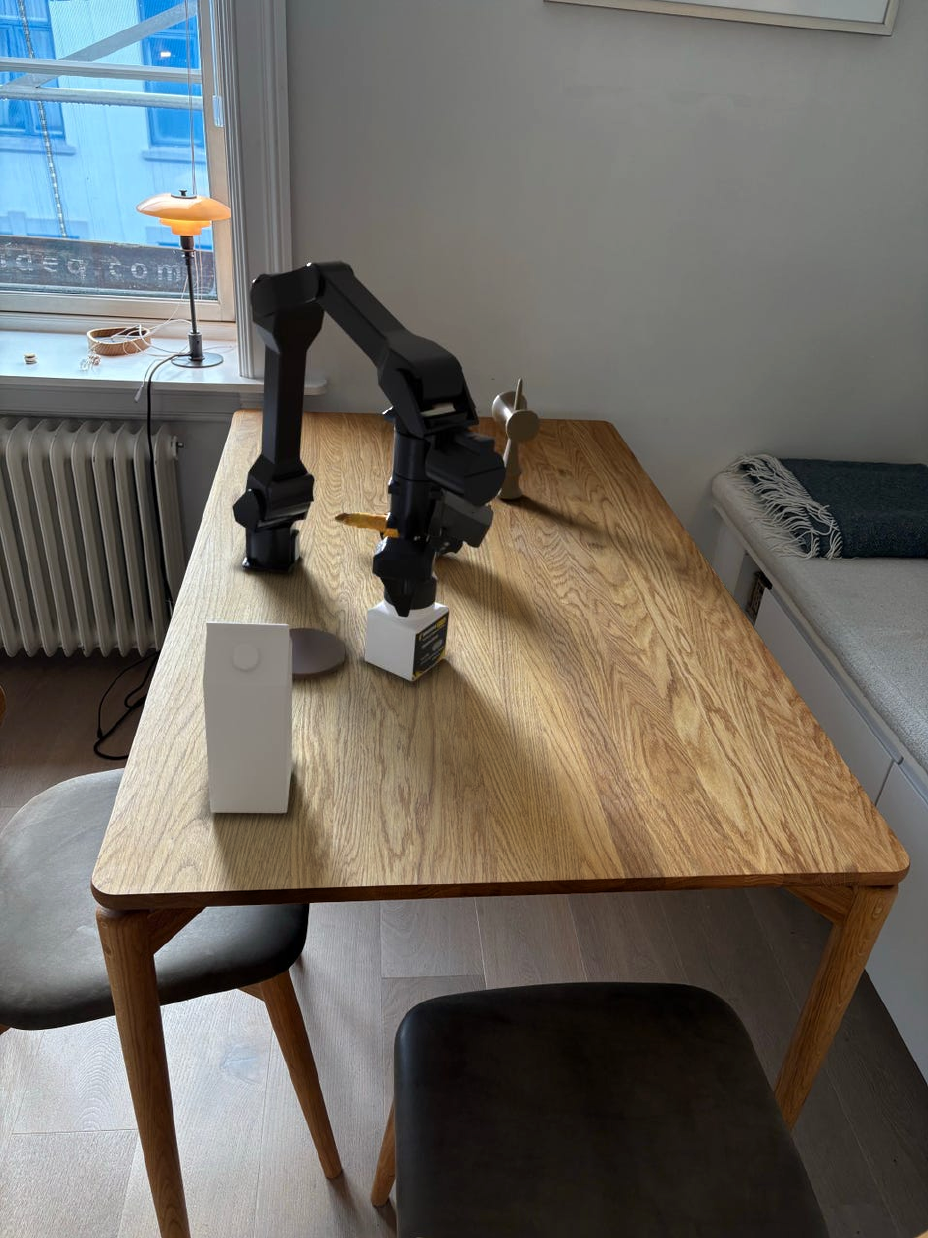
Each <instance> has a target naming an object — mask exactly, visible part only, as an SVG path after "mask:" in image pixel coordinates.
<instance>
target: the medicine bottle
mask: <svg viewBox="0 0 928 1238" xmlns="http://www.w3.org/2000/svg"><path fill="white" fill-rule="evenodd" d="M437 589H438V577H437V575H436V574H435V572H434V571H433V574H432V577H431V580H430V581H428V582H426V583H421V584H419V585H418V586H417V589H416V592H415V595H414V599H413V602H412V606H411V609H410V612H409V616H408V617H407V618H406V617H399V616H398V614H397V612H396V610H395V608H394V605H393V603H392V601H391V599H390V597H389V595H388V593H387V591H386V589H385V587H384V586H383V598H382V601H380V602H379V603H378V604H376V605H374V606H373V607H371V608H370V609H368V610H367V612H366V623H365V627H366V628H365V648H364V660H365V662H367V663H368V664H371V665H373V666H375V667H378V668H380V669H382V670H384V671H387V672H389V673H391V674H393V675H396V676H398V677H399V678H400V677H401V678H403V679H404V680H407V681H409V682H415V681H416V680H418V678H419V677H421V676H422V675H424V674H425V673H427V672H428V671H429V670H430V669H431V668H432V667H434V666H435V665H436V664H437V663H438V662H440V661H441V660H442V659H444V658H445V656H446V650H447V649H446V648H447V640H448V639H447V637H448V629H449V619H450V607H449V606H447V605H444V604H442V603H439V602H436V601H437V600H436V599H437V598H436V597H437Z"/></svg>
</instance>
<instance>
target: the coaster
mask: <svg viewBox="0 0 928 1238" xmlns="http://www.w3.org/2000/svg"><path fill="white" fill-rule="evenodd" d="M289 635H290V637H291V640H292V680H293V679H294V680H310V679H318V678H322V677H326V676H327V675H330V674H332V673H334V672H336V671H337V670H338V669H339V668H340V667H342V665H343V663H344V662H345V661H346V660H345V659H346V646H345V644H344V642H343V641H342V640H341V639H340V638H339V637H337V635H335V634H333V633H331V632H329V631H326V630H323V629H319V628H312V627H294V628H293V627H292V628H289Z"/></svg>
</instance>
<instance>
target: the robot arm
mask: <svg viewBox="0 0 928 1238" xmlns="http://www.w3.org/2000/svg"><path fill="white" fill-rule="evenodd" d="M249 301H250V302H249V303H250V306H251V318H252V323H253V326H254V327H255V329H256V331H257V332H258V334H259V336H260V337H261V340H262V341H263V343H264V370H263V371H264V372H263V395H262V397H263V398H262V418H261V419H262V420H261V422H262V423H261V445H260V454H259V455H258V457H257V458H256V459H255V461H254V463H253V464H252V465H251V466H250V468H249V470H248V472H247V476H246V482H245V483H246V484H245V490H244V492H243V493H242V495H241V496H240V497H239V498H237V500H236V501H235V503H233V504H232V507H231V508H232V513H233V518H234V521H235V523H237V524H239V526H241V527H242V528H244V530H245V531H244V533H245V536H244V537H245V558H244V560H243V562H242V563H241V567H242V568H244V569H249V570H250V569H251V570H258V571H265V572H273V573H281V574H288V573H290V571H291V569H292V568H293V566H294V565H295V564H296V563H297V562H298V559H299V558H300V555H301V552H300V551H301V530H299V529H298V528H297V522H299V521H305V520H306V519H307V517H308V514H309V510H310V508H311V506H312V505H311V504H312V502H315V499H314V498H315V497H314V487H315V481H316V479H315V476H314V475H313V474H312V473H310V472H309V470H308V469H307V467H306V466H305V464H304V462H303V461H302V458H301V451H302V450H301V449H302V435H303V434H302V432H303V419H304V402H305V390H306V389H305V387H306V372H307V371H306V370H307V358H308V357H307V356H308V355H307V354H308V351H309V349H310V347H311V346H312V344H313V342H314V341H315V340H316V338H317V337H318V335H319V334H320V333H321V331H322V328H323V324H324V319H325V314H326V313H327V315H328V316H329V317H330V318H331V319H332V320H333V321H334V322H335V323H336V325H338V326H339V328H340V329H341V330H342V331H343V332H344V333H345V334H346V335H347V337H349V339H351V341H352V342H353V343H354V344H355V345H356V346H357V347H358V348H359V349H360V350H361V352H363V354H364V355H366V357H367V358H368V359H369V360H370V361H371V362H372V364H373V366H374V367H375V368H376V374H377V375H376V376H377V377H376V378H377V385H378V387H379V389H380V390H381V391H382V392H383V394H384V396H385V398H387V400H388V401H389V403H390V404H391V407H390V408H389V409H387V410H385V411H384V412H382V415H381V417H382V420H383V421H385V422H387V423H390V424H391V425H394V431H393V432H394V435H393V447H392V448H393V451H392V464H391V465H392V466H391V467H392V468H391V478H390V480H389V482H388V485H387V494H389V495H390V499H389V511H390V512H389V515H388V517H387V520H386V528H387V529H395V530H397V532H398V536H399V538H396V537H386V538H385V539H383V540H380V541H379V542H378V543H377V546H376V548H375V551H374V553H373V556H372V569H371V570H372V571H371V573H372V574H374V575H375V576H376V577H377V578H379V580H380V581H381V583H382V585H383V588H384V587H385V589H386V591H387V593H388V595H389V597H390V599H391V601H392V603H393V605H394V608H395V610H396V612H397V614H398V616H399V617H406V618H407V617H408V616H409V612H410V609H411V606H412V602H413V599H414V595H415V592H416V589H417V586H418V585H419V584H421V583H426V582H428V581H430V580H431V577H432V574H433V572H434V570H435V563H436V558H437V557H436V550H435V549H434V548H433V546H432V545H431V544H430V542H431V539H432V538H433V537H440V535H441V531H442V530H443V531H444V532H446V533H447V534H449V535H451V536H453V537H456V538H458V539H460V540H462V541H463V543H465V544H466V545H467V546H469V547H470V548H473V549H478V548H480V547H481V545H482V543H483V541H484V540H485V537H486V536H487V534H488V533H489V530H490V529H491V528H492V527H491V526H492V525H493V520H494V513H495V512H494V510H493V509H492V505H491V504H489V503H490V502H491V501H493V500H494V499H495V498H496V497H497V496H496V495H497V494H498V493H499V491H500V490H501V488H502V486H503V483H504V481H505V477H506V468H505V463H504V460H503V456H502V454H500V453H499V452H498V451H496V450H495V445H496V440H495V438H493V437H490V436H488V435H485V434H480V433H478V432H476V431H474V430H473V429H469V428H474V427H478V426H479V425H480V419H479V415H478V413H477V410H476V409H477V405H476V404H475V402H474V399H473V397H472V396H471V392H470V390H469V386H468V384H467V381H466V378H465V374H464V372H463V367H462V365H461V363H460V361H459V359H458V358H457V357H456V356H455V355H454V354H453V353H452V352H451V351H449V350H447V348H445V347H443V346H441V344H439V343H438V342H436V341H434V340H431V339H428V338H425V337H423V336H419V335H417V334H414V333H413V332H412V331H410V330H408V328H406V327H405V326H404V325H403V323H401V321H399V320H398V319H397V317H395V315H393V313H391V312H390V310H389V309H388V308H387V307H386V305H384V304H383V303H382V302H381V301H380V300H379V299H378V298H377V297H376V296H375V295H374V294H373V293H372V292H371V291H370V290H369V289H368V287H366V286H365V285H364V284H363V283H362V282H361V280H359V278H357V276H355V272H354V270H353V268H352V266H351V265H350V264H349V263H348V262H344V261H342V260H326V261H313V262H309V263H308V264H307V265H304V266H302V267H299V268H297V269H293V270H290V271H289V270H288V271H278V272H265V273H264V272H263V273H260V274H259V275H258V277H257V278H256V279H254V280H253V281H252V284H251V288H250V292H249ZM450 407H452V408H453V409H454V410H451V411H447V412H441V413H438V414H433V415H431V414H429V413H427V412H431V411H437V410H441V409H445V408H450Z"/></svg>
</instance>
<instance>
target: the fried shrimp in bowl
mask: <svg viewBox="0 0 928 1238" xmlns="http://www.w3.org/2000/svg"><path fill="white" fill-rule="evenodd" d="M389 512H390V510H388V511H387V512H385V513H384V514H383V515H382V514H380V515H379V514H371V513H365V512H359V511H358V512H351V513H349V512H348V513H347V512H340V513H337V514H336V515H334V521H335V522H337V523H339V524H342V525H345V526H348V527H355V528H357V529H364V530H365V529H368V530H375V531H378V532H379V537H380V541H382V540H383V539H385V538H386V537H396V538H399V536H398V532H397V530H395V529H387V528H386V520H387V517H388V515H389ZM430 544H431V545H432V546H433V548H434V549H435V550H436V557H435V558H439V557H443V556H445V555H447V554H450V553H452V554H454V555H457V554H458V553H459V552H460V551H461V549H462V548H463V546H464V541H462V540H460V539H458V538H456V537H453V536H451V535H449V534H447V533H446V532H444V531H443V530H442V531H441V535H440V537H433V538H432V539H431V542H430Z"/></svg>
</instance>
